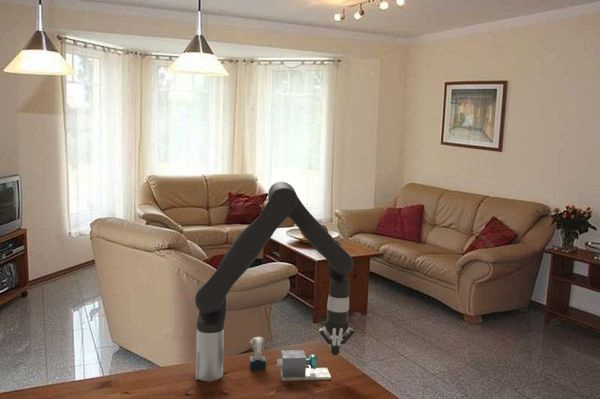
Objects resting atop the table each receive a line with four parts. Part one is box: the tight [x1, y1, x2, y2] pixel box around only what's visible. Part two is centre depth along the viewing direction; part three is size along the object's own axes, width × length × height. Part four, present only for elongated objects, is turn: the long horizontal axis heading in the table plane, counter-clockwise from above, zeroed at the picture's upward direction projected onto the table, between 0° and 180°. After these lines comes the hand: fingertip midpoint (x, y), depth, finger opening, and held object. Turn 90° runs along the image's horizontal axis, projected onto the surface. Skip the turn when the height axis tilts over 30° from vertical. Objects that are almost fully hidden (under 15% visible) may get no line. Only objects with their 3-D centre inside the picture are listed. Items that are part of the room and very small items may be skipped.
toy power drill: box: [249, 336, 267, 371], centre depth 199 cm, size 6×8×11 cm
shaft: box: [276, 353, 318, 369], centre depth 194 cm, size 14×5×5 cm, turn 98°
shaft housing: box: [280, 349, 332, 382], centre depth 194 cm, size 17×7×8 cm, turn 98°
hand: (334, 354), depth 196 cm, fingers closed
